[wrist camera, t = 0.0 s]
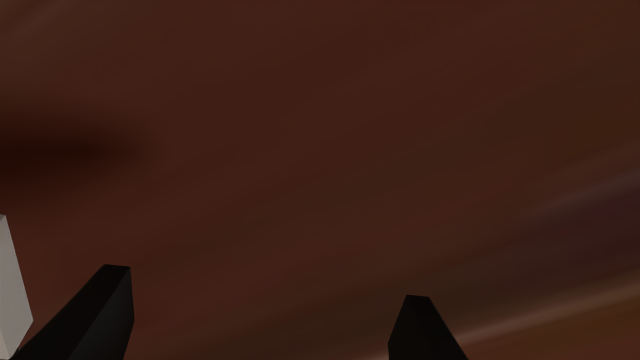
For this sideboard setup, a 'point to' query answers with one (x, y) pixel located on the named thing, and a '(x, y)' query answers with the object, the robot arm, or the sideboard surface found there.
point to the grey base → (11, 297)
